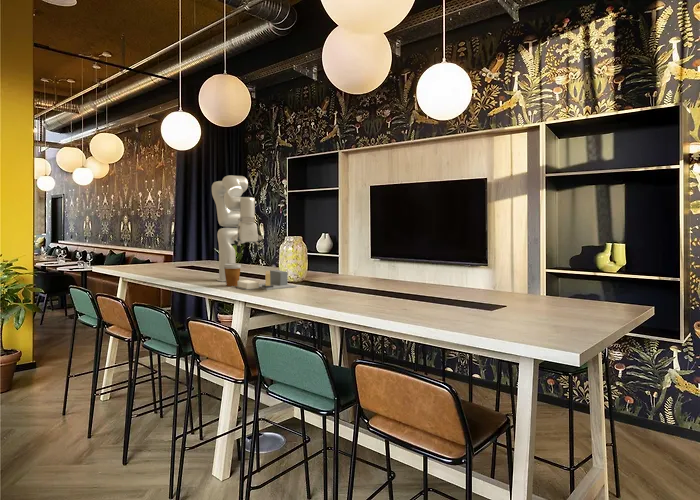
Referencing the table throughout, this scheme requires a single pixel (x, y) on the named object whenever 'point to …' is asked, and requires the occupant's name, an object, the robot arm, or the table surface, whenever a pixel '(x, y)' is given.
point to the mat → (245, 288)
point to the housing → (277, 280)
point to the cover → (248, 284)
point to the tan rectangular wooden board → (267, 278)
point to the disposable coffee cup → (232, 274)
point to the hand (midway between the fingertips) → (247, 252)
